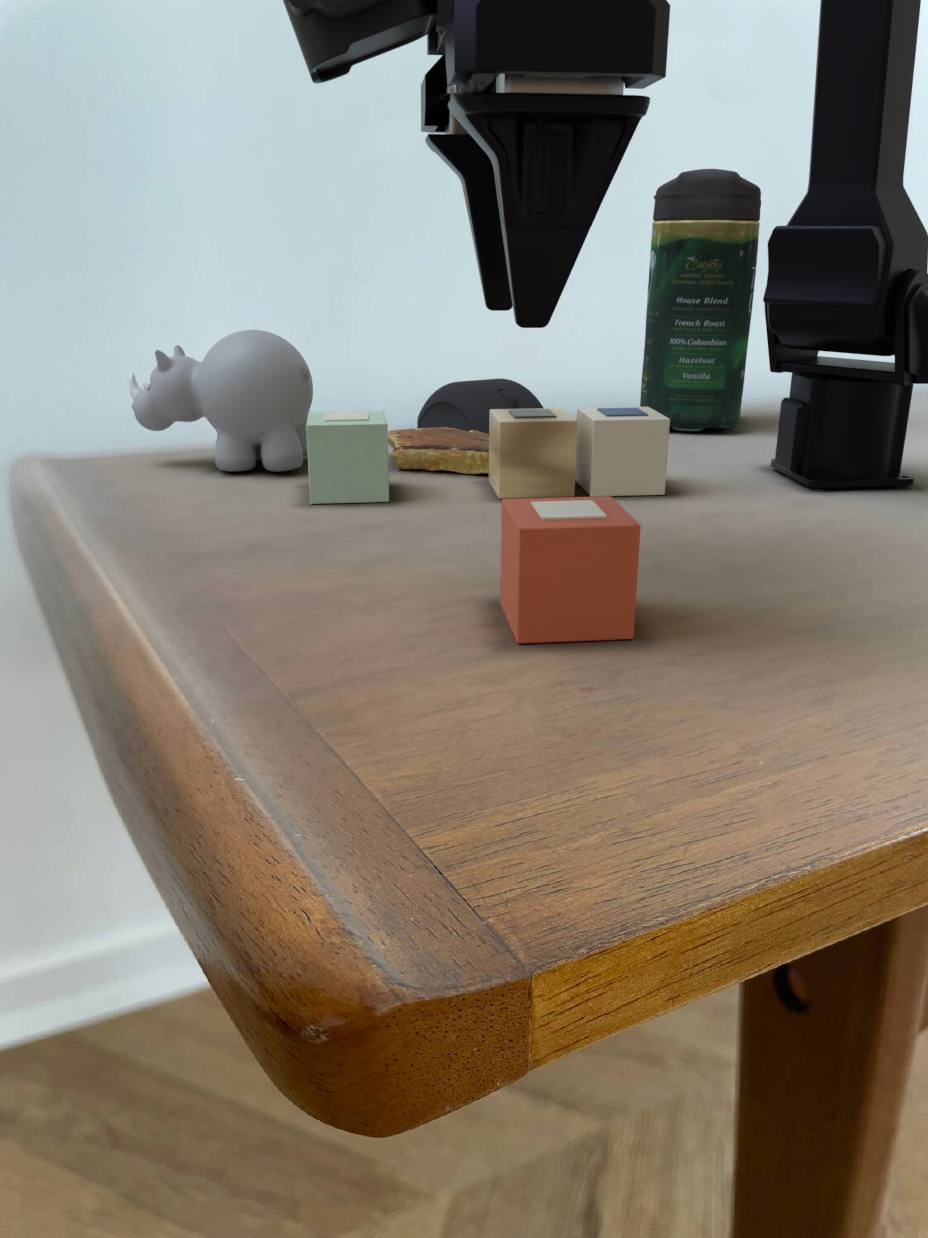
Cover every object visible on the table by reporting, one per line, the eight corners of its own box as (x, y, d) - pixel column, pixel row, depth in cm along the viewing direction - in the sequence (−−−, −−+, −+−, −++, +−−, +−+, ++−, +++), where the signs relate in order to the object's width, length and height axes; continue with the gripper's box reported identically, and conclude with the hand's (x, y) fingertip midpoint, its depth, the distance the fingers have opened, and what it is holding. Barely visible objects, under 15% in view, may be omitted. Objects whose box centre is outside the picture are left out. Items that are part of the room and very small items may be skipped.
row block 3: (644, 478, 64) (648, 404, 62) (665, 495, 60) (670, 416, 58) (574, 479, 63) (577, 405, 62) (590, 496, 59) (593, 418, 58)
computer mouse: (485, 451, 72) (485, 392, 70) (410, 426, 81) (409, 374, 80) (560, 442, 75) (561, 386, 73) (479, 419, 84) (480, 369, 82)
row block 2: (559, 480, 63) (562, 405, 62) (574, 497, 59) (577, 418, 58) (488, 482, 63) (489, 407, 61) (498, 499, 59) (499, 419, 57)
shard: (550, 480, 63) (551, 450, 63) (436, 492, 60) (436, 461, 60) (472, 448, 73) (472, 422, 72) (369, 458, 69) (369, 431, 69)
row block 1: (386, 484, 62) (384, 408, 61) (389, 502, 58) (387, 421, 57) (312, 486, 62) (308, 410, 60) (310, 504, 58) (305, 422, 56)
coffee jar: (742, 436, 77) (768, 164, 71) (635, 431, 79) (651, 165, 72) (739, 415, 86) (762, 172, 80) (643, 411, 88) (657, 173, 81)
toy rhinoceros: (161, 451, 72) (149, 323, 69) (330, 456, 70) (324, 325, 67) (114, 473, 65) (97, 333, 62) (299, 479, 63) (291, 335, 60)
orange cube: (605, 600, 43) (611, 493, 41) (634, 639, 39) (641, 522, 37) (499, 604, 42) (501, 496, 41) (517, 644, 38) (519, 525, 37)
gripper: (299, -88, 43) (315, 303, 49) (257, -308, 26) (290, 340, 31) (563, -79, 44) (550, 303, 50) (694, -285, 27) (653, 339, 32)
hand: (513, 317), depth 41 cm, fingers open, 9 cm apart
